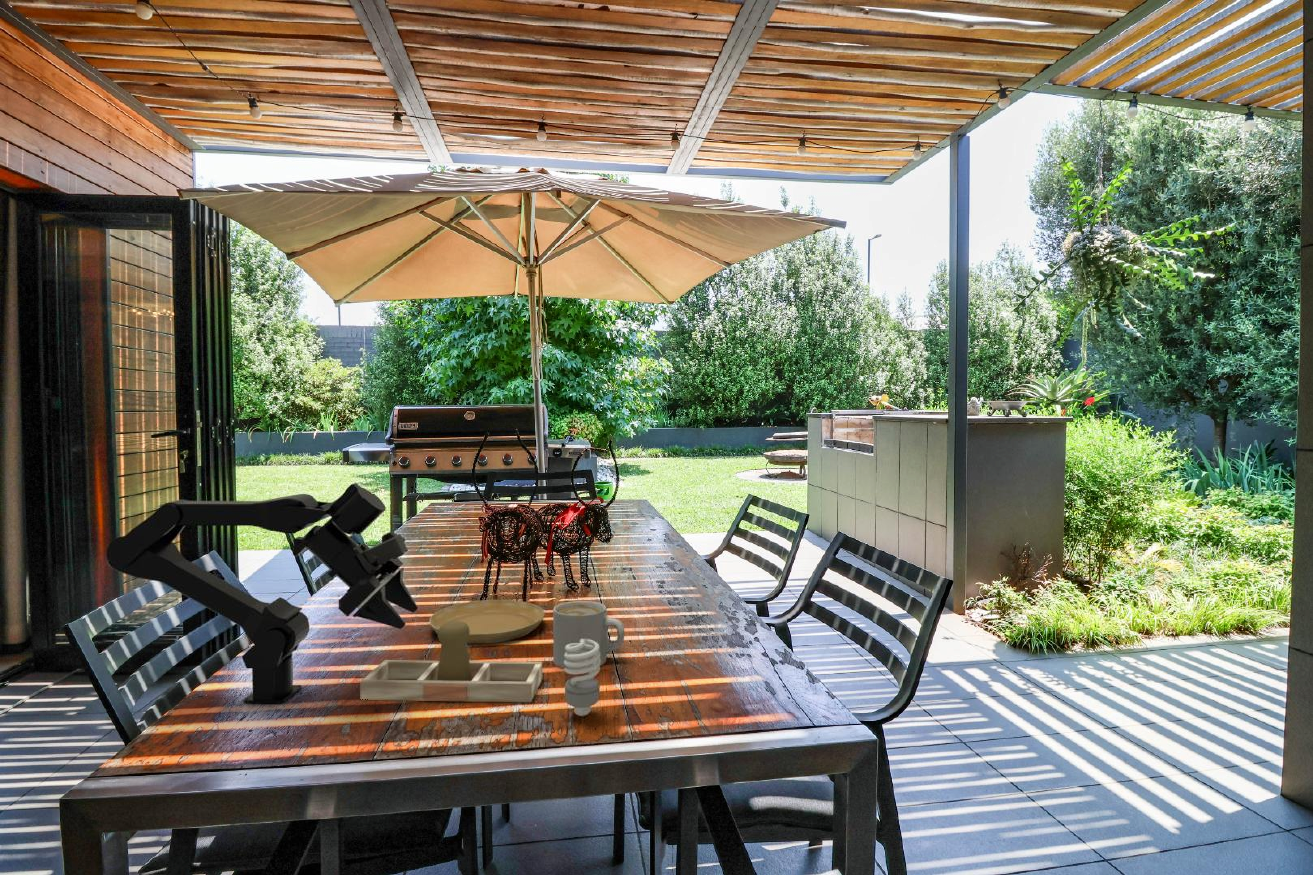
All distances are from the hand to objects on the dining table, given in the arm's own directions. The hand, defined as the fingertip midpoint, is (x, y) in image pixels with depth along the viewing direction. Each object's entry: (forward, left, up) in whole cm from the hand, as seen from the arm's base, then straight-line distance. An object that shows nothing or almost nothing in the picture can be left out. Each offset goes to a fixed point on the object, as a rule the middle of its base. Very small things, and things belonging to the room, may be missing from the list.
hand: (409, 618), depth 120 cm
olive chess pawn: (+1, -7, -12) cm, 14 cm away
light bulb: (-9, -30, -13) cm, 34 cm away
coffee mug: (+15, -28, -13) cm, 34 cm away
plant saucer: (+34, -4, -13) cm, 37 cm away
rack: (+1, -7, -12) cm, 14 cm away
